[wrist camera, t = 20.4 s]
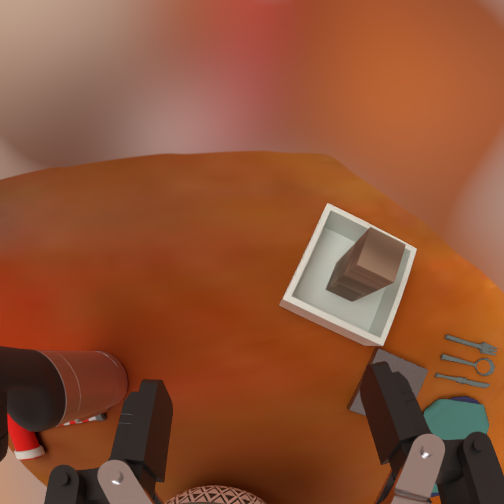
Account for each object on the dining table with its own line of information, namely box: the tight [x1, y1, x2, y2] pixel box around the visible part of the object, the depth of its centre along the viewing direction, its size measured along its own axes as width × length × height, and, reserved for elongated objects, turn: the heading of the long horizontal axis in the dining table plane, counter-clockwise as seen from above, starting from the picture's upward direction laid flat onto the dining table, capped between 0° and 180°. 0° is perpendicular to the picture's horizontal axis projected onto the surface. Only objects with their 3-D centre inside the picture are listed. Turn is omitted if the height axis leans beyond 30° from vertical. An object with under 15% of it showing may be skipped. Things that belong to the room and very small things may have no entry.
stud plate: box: [347, 348, 428, 416], centre depth 37 cm, size 10×10×5 cm
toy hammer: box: [7, 413, 106, 460], centre depth 36 cm, size 23×12×6 cm, turn 111°
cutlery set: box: [424, 335, 497, 497], centre depth 37 cm, size 20×30×2 cm, turn 161°
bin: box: [279, 203, 417, 346], centre depth 42 cm, size 15×15×7 cm
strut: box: [325, 227, 406, 302], centre depth 37 cm, size 4×4×15 cm
